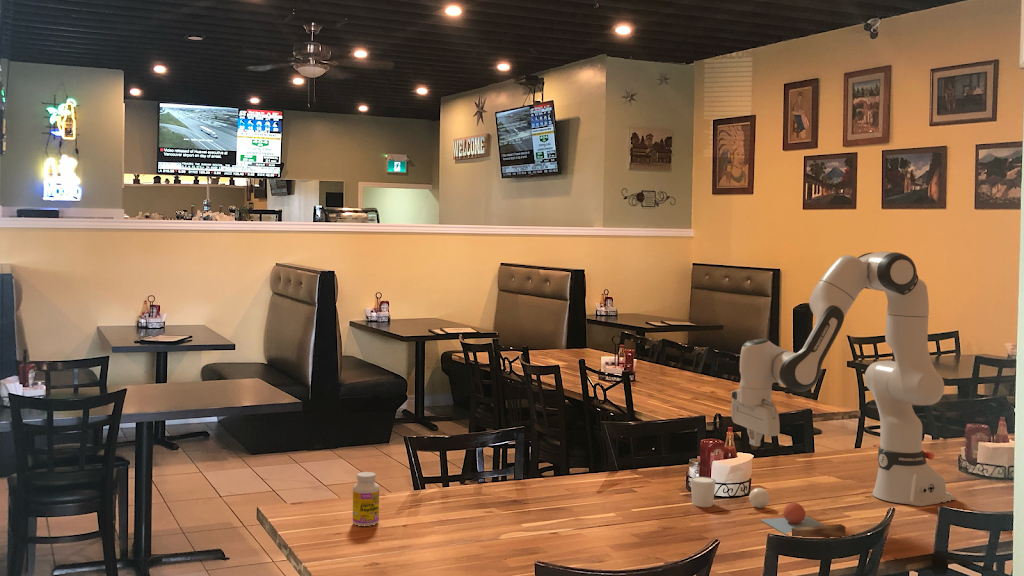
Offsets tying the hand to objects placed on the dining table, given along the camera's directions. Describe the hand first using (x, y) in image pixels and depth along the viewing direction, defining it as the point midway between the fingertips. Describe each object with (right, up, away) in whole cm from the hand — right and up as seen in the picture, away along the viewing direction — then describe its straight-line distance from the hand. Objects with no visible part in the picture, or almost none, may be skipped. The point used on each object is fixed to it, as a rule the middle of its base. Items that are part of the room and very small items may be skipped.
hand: (754, 445), depth 257 cm
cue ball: (0, -14, -6) cm, 15 cm away
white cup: (-15, -16, -3) cm, 23 cm away
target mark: (+5, -17, -22) cm, 29 cm away
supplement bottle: (-106, -16, -24) cm, 110 cm away
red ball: (+5, -14, -20) cm, 25 cm away
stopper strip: (+8, -18, -30) cm, 36 cm away
